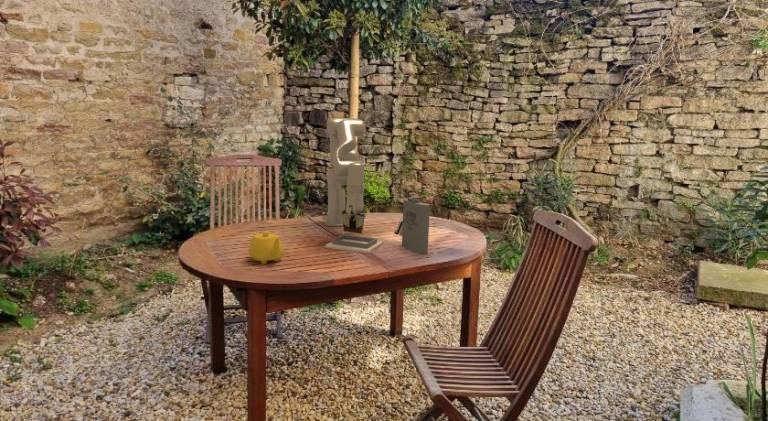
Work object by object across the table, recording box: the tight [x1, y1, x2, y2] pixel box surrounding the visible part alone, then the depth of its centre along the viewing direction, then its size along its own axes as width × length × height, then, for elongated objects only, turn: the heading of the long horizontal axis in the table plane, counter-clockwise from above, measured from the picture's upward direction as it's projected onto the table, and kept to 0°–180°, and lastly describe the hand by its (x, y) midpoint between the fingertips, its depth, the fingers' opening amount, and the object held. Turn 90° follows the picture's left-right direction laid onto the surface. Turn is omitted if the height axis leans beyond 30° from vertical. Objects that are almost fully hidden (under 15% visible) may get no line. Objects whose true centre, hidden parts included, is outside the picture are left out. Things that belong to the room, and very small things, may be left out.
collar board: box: [324, 234, 384, 254], centre depth 237 cm, size 22×18×3 cm
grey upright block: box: [401, 195, 431, 255], centre depth 232 cm, size 17×5×25 cm, turn 33°
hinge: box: [393, 218, 403, 236], centre depth 266 cm, size 17×5×10 cm, turn 128°
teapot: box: [247, 230, 285, 265], centre depth 209 cm, size 13×20×12 cm
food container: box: [341, 209, 367, 235], centre depth 236 cm, size 12×6×10 cm, turn 68°
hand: (355, 227), depth 236 cm, fingers closed on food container, 5 cm apart
